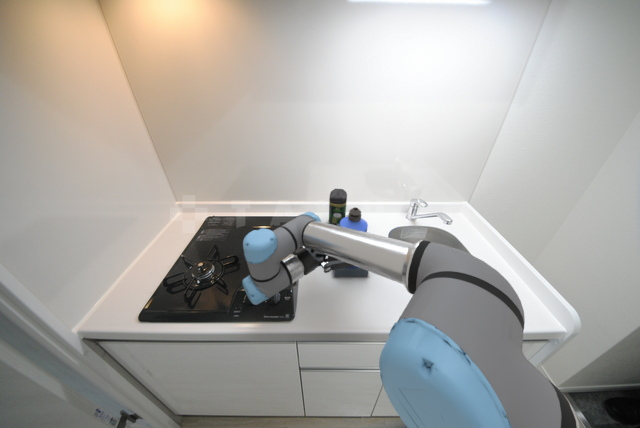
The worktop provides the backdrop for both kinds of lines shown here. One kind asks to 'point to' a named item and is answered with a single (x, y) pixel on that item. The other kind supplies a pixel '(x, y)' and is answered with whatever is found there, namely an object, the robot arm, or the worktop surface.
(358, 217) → the water bottle
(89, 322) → the worktop surface
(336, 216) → the coffee jar
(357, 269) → the dark grey shallow tray
